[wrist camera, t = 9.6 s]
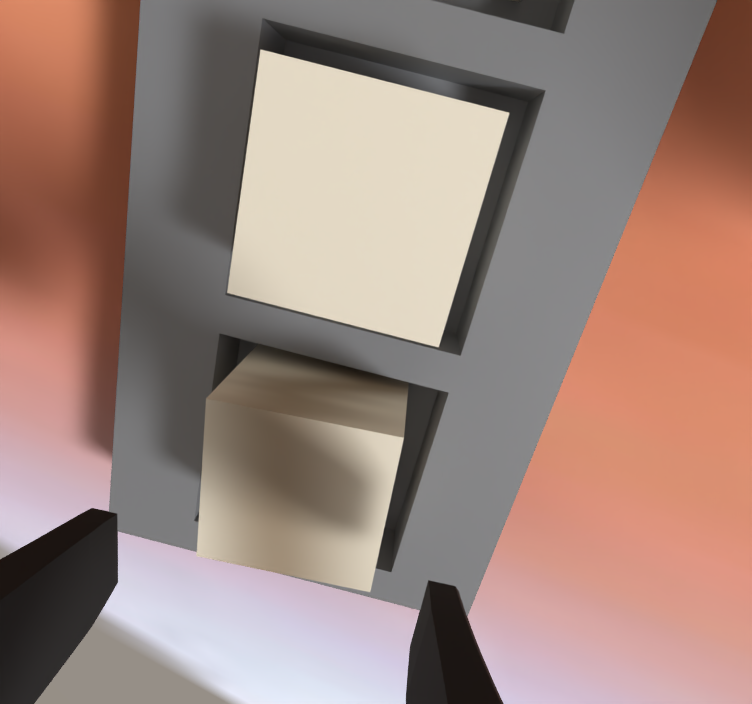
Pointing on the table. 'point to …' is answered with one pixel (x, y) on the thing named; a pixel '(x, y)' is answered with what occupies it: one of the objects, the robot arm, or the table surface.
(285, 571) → the loose block
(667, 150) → the table surface
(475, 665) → the robot arm
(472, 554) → the puzzle board
